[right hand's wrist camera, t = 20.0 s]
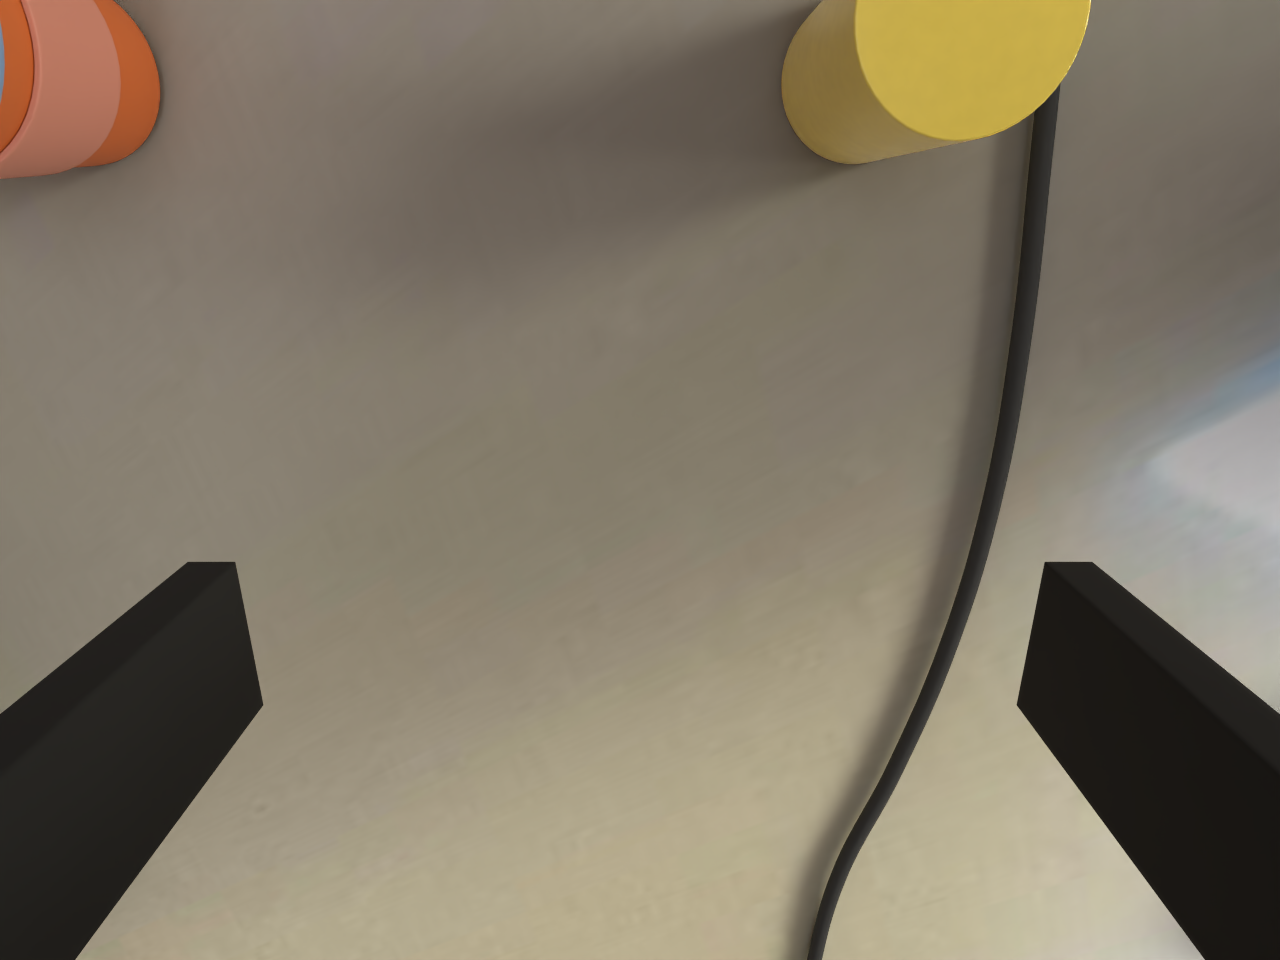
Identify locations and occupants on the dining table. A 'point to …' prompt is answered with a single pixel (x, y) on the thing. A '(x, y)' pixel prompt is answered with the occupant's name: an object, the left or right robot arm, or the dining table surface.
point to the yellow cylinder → (923, 71)
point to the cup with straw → (72, 86)
